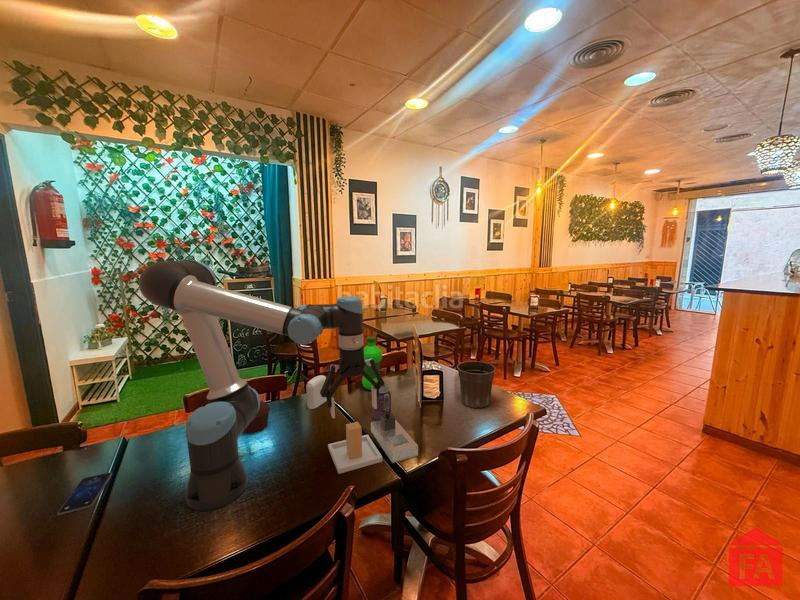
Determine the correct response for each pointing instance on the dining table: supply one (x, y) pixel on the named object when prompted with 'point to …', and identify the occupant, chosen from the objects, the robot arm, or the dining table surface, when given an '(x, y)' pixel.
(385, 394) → the beverage can
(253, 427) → the muffin
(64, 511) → the smartphone
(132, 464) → the dining table surface
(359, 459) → the tray
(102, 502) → the dining table surface
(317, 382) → the photo printer
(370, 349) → the plastic bottle
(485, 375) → the plant pot
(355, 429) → the tan rectangular block
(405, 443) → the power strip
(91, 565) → the dining table surface
